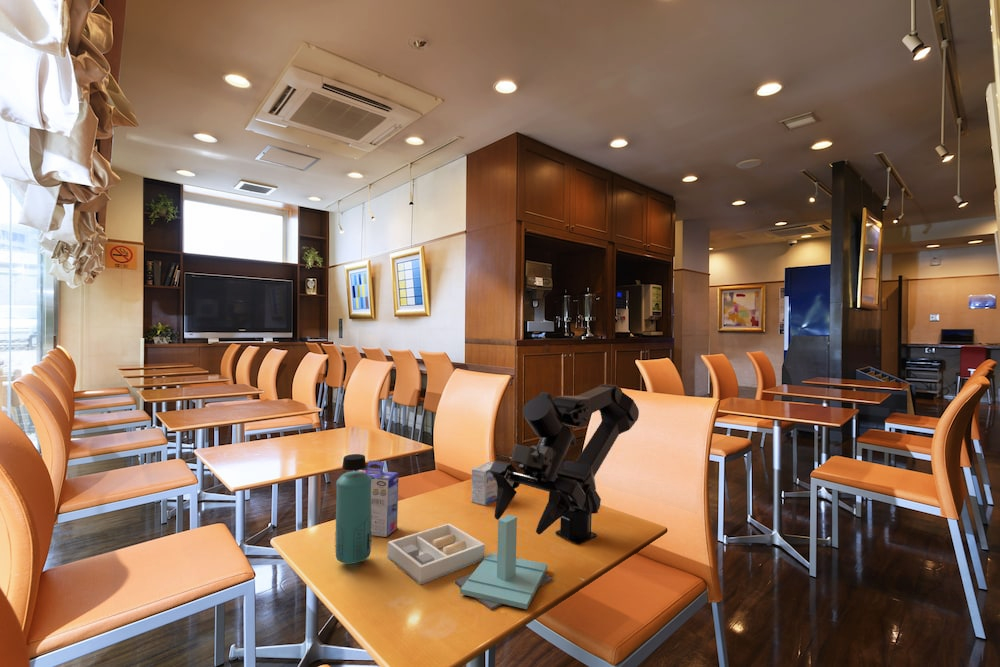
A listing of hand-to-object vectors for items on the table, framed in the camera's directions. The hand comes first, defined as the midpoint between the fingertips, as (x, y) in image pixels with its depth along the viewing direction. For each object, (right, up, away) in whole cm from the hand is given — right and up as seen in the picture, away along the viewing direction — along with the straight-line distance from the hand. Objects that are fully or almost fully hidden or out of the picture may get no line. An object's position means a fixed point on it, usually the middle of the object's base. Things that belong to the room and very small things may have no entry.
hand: (516, 525), depth 83 cm
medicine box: (-6, -9, +37) cm, 39 cm away
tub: (-15, -9, +6) cm, 18 cm away
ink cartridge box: (-30, -8, +18) cm, 36 cm away
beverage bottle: (-30, -9, +3) cm, 31 cm away
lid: (-2, -9, -2) cm, 9 cm away
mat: (-2, -9, -2) cm, 9 cm away
